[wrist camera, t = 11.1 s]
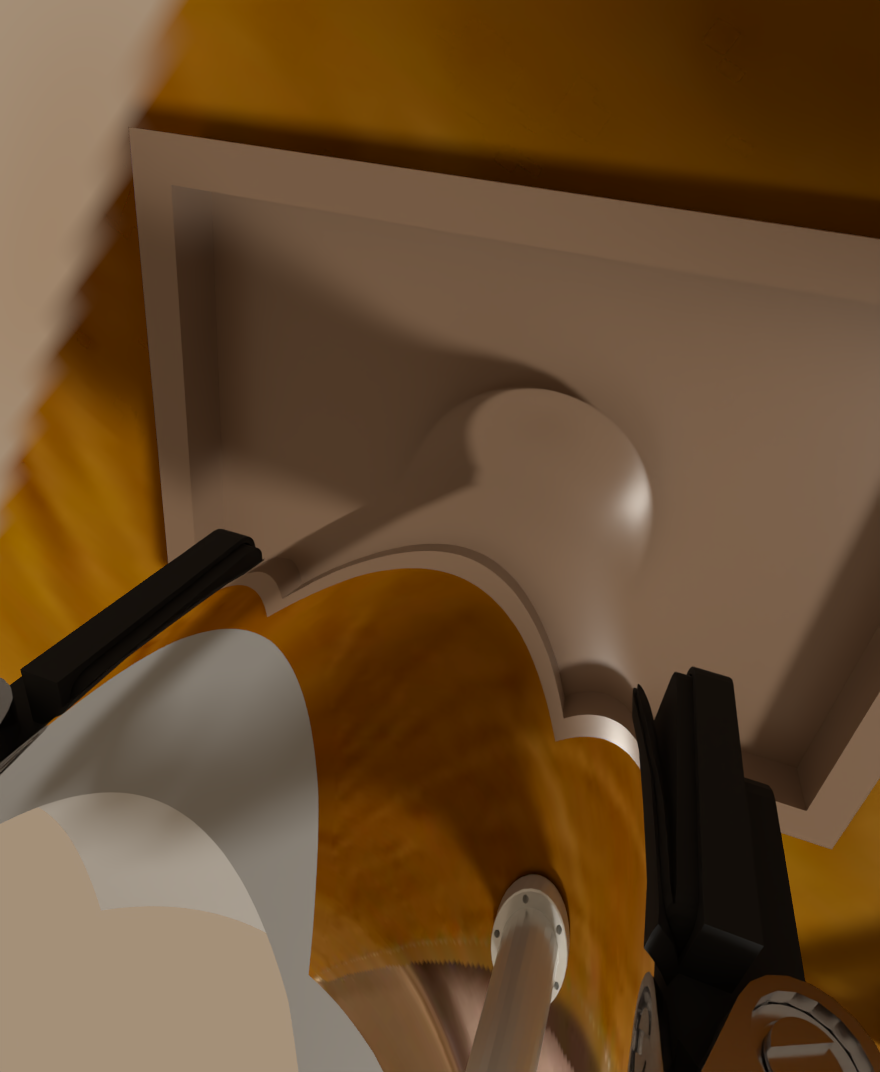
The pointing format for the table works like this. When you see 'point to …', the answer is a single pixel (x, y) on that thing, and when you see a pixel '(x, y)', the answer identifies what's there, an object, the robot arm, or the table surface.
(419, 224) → the tray
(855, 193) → the table surface
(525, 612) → the silver metal tumbler
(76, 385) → the table surface
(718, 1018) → the robot arm
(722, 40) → the table surface
